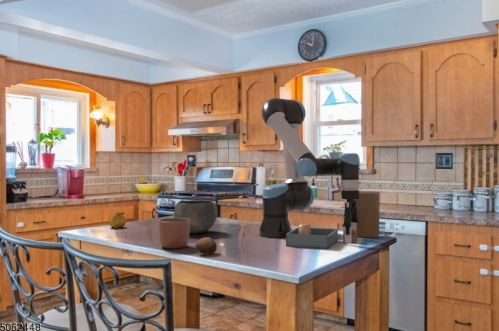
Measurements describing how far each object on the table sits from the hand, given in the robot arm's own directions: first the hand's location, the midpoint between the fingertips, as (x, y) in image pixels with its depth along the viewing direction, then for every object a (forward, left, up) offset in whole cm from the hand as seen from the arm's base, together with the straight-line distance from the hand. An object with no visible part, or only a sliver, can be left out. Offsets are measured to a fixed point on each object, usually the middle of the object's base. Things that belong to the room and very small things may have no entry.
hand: (350, 240), depth 188 cm
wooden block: (+5, +17, -1) cm, 18 cm away
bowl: (-73, -2, -1) cm, 73 cm away
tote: (-14, -9, -1) cm, 17 cm away
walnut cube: (0, 0, -1) cm, 1 cm away
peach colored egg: (-18, -9, 0) cm, 20 cm away
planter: (-64, -36, -1) cm, 74 cm away
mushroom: (-46, -43, -1) cm, 63 cm away
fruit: (-119, -2, -1) cm, 119 cm away
